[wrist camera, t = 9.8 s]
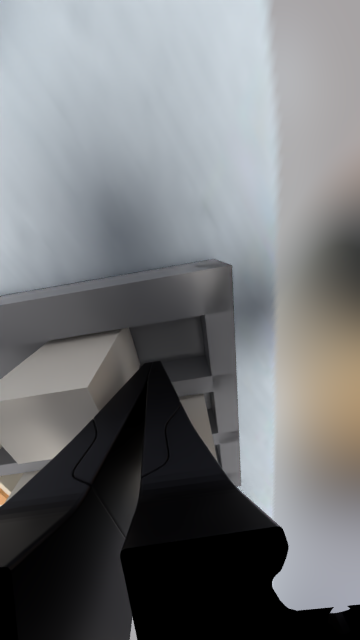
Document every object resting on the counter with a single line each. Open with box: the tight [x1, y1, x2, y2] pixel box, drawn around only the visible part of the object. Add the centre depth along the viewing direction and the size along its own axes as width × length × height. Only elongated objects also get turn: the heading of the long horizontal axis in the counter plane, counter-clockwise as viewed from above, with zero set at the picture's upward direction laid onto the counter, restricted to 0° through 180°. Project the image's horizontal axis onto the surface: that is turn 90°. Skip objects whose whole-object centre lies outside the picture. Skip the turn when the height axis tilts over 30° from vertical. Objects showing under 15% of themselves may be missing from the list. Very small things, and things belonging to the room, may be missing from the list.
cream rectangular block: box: [0, 328, 140, 464], centre depth 9 cm, size 3×4×5 cm
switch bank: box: [0, 259, 241, 507], centre depth 13 cm, size 18×20×4 cm
